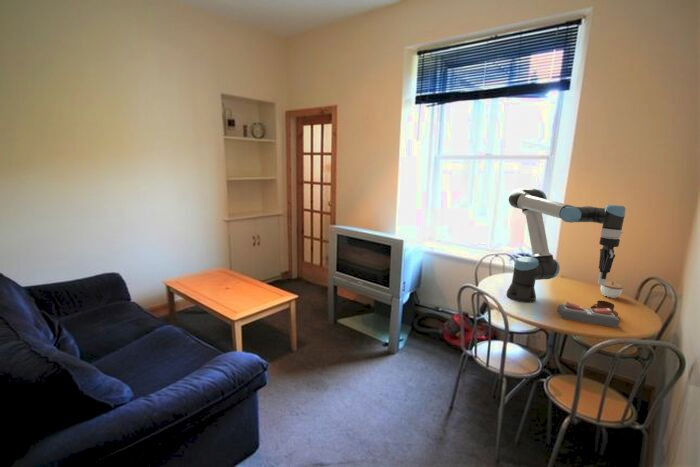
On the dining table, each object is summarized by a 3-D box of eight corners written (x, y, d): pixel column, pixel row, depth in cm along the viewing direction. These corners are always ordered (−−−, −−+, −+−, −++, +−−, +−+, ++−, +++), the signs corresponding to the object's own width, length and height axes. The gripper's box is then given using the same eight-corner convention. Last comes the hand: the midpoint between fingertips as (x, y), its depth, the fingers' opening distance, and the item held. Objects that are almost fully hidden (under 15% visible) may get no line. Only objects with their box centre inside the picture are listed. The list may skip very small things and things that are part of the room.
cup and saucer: (606, 320, 173) (608, 308, 172) (584, 310, 185) (586, 299, 183) (623, 318, 177) (625, 307, 175) (600, 308, 188) (603, 298, 187)
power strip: (561, 318, 172) (563, 309, 171) (557, 311, 180) (559, 302, 179) (617, 327, 165) (620, 318, 164) (610, 320, 173) (612, 311, 172)
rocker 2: (595, 313, 169) (595, 311, 169) (592, 310, 173) (592, 308, 172) (612, 313, 167) (612, 310, 167) (609, 310, 170) (609, 307, 170)
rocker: (568, 306, 173) (569, 303, 172) (566, 303, 176) (567, 301, 176) (582, 311, 171) (584, 309, 171) (580, 308, 174) (581, 306, 174)
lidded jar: (617, 301, 200) (621, 286, 198) (596, 295, 208) (599, 280, 206) (622, 297, 206) (625, 283, 204) (601, 291, 214) (604, 277, 212)
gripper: (625, 240, 155) (615, 290, 160) (614, 236, 167) (605, 282, 172) (605, 238, 158) (596, 287, 162) (596, 234, 170) (588, 279, 174)
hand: (601, 284), depth 167 cm, fingers closed
